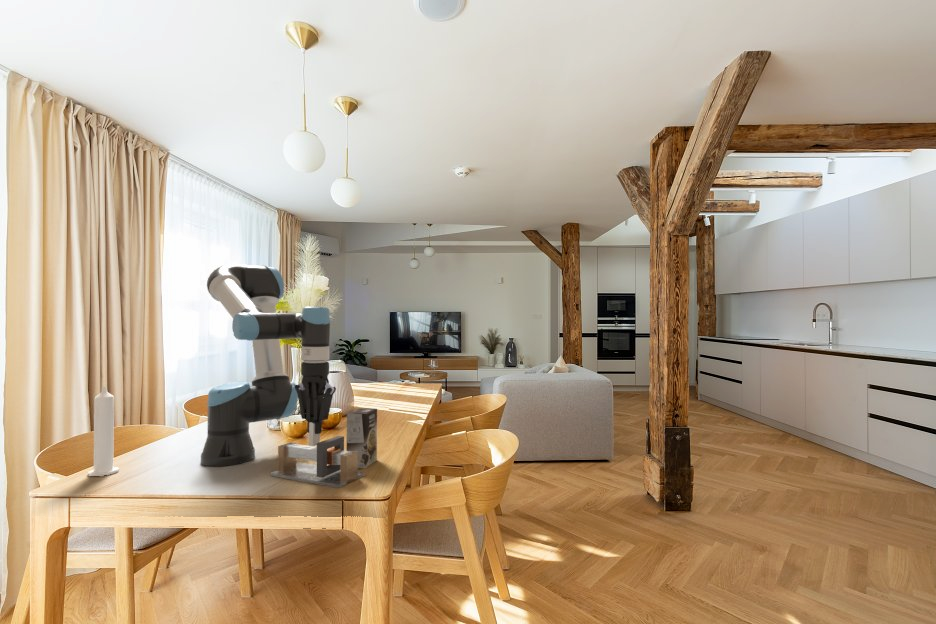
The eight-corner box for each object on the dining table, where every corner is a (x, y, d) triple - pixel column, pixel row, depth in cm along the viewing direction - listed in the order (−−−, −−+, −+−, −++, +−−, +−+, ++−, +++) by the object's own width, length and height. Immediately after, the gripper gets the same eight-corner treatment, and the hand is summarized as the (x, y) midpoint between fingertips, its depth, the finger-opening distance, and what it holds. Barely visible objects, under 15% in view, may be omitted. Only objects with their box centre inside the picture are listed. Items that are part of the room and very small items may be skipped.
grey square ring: (316, 476, 131) (316, 443, 131) (338, 467, 139) (338, 435, 140) (322, 477, 130) (322, 444, 130) (343, 468, 139) (344, 436, 139)
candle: (85, 478, 134) (86, 387, 134) (90, 471, 140) (91, 384, 141) (116, 474, 137) (117, 385, 138) (120, 467, 144) (121, 382, 144)
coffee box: (365, 469, 143) (366, 413, 143) (345, 467, 144) (345, 412, 144) (377, 460, 152) (378, 408, 152) (358, 458, 153) (358, 407, 153)
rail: (269, 475, 137) (270, 447, 137) (298, 464, 147) (298, 439, 147) (339, 487, 127) (339, 458, 127) (364, 475, 137) (364, 447, 137)
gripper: (287, 361, 137) (286, 445, 137) (325, 363, 132) (323, 451, 132) (306, 358, 144) (305, 438, 144) (342, 361, 138) (341, 444, 139)
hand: (314, 444), depth 138 cm, fingers closed
